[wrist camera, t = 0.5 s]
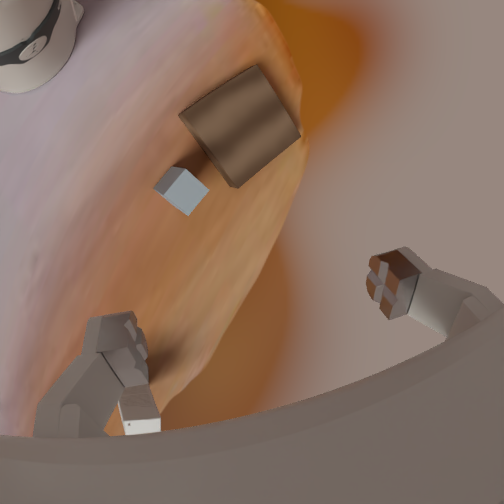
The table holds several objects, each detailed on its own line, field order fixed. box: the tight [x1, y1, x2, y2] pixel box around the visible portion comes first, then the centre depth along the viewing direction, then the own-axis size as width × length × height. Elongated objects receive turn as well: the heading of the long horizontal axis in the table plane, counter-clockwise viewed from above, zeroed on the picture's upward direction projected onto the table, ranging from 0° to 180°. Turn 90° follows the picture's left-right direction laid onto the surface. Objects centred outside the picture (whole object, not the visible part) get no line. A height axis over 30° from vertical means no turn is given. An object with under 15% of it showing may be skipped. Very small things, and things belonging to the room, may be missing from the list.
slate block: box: [153, 166, 209, 215], centre depth 41 cm, size 4×4×8 cm
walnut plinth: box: [178, 65, 301, 189], centre depth 45 cm, size 14×14×3 cm
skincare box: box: [118, 384, 161, 435], centre depth 45 cm, size 6×4×12 cm
